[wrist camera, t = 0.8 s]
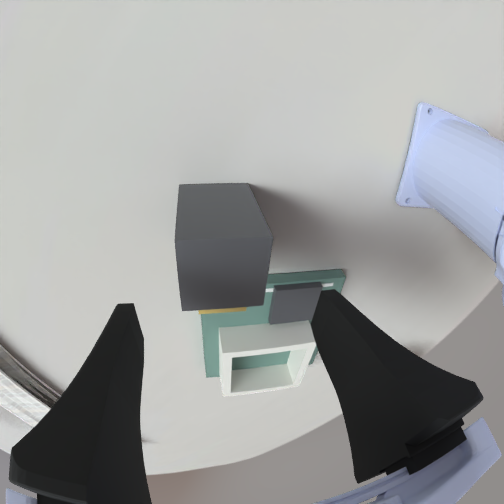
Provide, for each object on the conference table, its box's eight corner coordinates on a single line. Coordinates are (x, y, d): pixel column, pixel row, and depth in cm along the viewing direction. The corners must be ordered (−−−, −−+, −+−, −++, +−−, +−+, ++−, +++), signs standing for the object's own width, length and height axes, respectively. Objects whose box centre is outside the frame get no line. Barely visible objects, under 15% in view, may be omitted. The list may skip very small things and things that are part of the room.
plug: (247, 183, 17) (273, 236, 12) (242, 246, 19) (262, 312, 14) (179, 184, 16) (174, 240, 11) (182, 249, 18) (182, 318, 14)
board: (340, 269, 22) (360, 299, 19) (309, 356, 29) (319, 383, 26) (198, 278, 20) (201, 315, 17) (205, 369, 27) (209, 399, 24)
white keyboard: (-71, 300, 11) (137, 457, 36) (-54, 273, 14) (136, 438, 39) (-93, 320, 11) (85, 456, 36) (-81, 299, 14) (86, 439, 39)
